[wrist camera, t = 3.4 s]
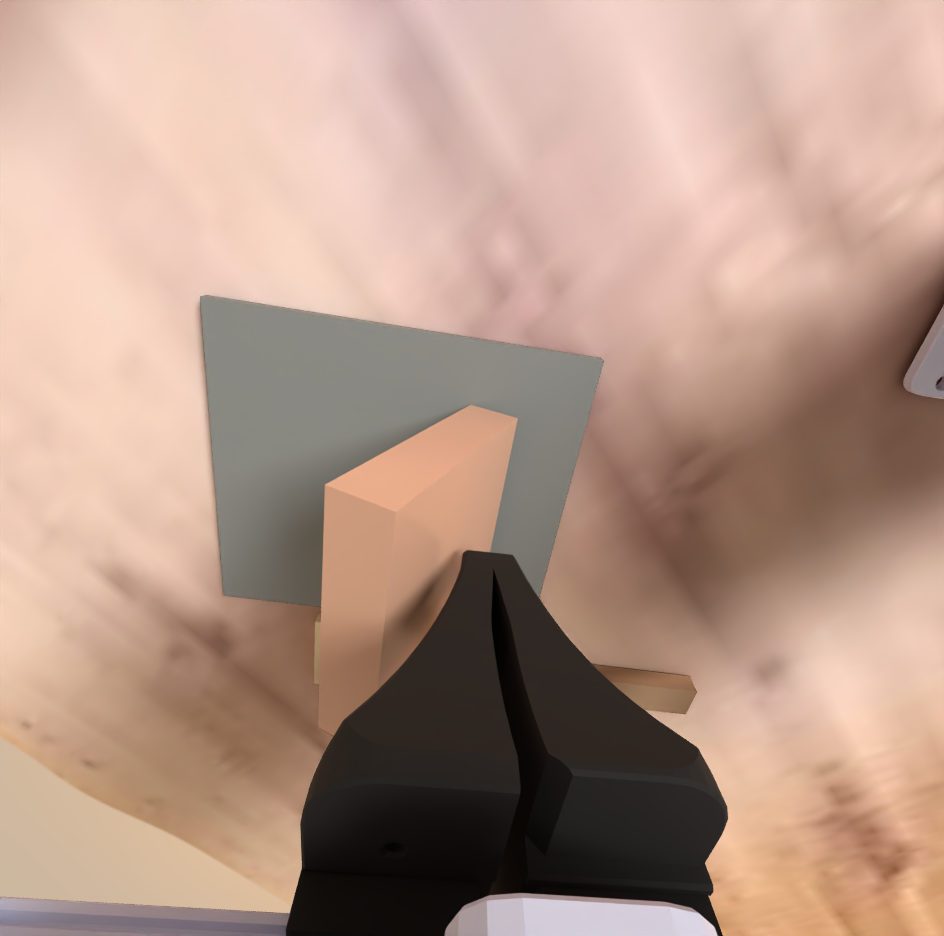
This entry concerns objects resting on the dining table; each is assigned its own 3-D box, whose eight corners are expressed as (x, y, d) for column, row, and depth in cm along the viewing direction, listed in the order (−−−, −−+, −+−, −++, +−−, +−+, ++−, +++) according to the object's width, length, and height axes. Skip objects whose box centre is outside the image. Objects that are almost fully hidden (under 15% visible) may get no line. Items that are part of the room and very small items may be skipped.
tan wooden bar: (697, 658, 20) (705, 674, 20) (670, 714, 22) (677, 730, 21) (319, 611, 20) (313, 625, 19) (317, 672, 21) (312, 688, 20)
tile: (517, 418, 15) (395, 511, 9) (480, 596, 18) (370, 757, 12) (466, 403, 15) (318, 481, 9) (438, 578, 18) (312, 724, 12)
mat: (600, 358, 15) (603, 360, 15) (528, 624, 20) (530, 631, 19) (206, 295, 14) (199, 296, 14) (228, 588, 19) (223, 595, 18)
